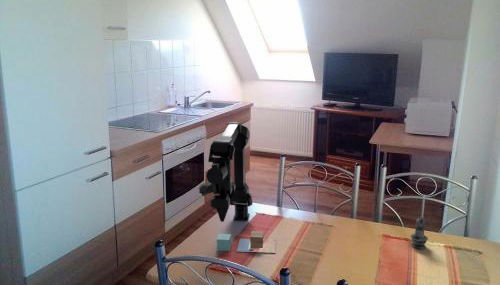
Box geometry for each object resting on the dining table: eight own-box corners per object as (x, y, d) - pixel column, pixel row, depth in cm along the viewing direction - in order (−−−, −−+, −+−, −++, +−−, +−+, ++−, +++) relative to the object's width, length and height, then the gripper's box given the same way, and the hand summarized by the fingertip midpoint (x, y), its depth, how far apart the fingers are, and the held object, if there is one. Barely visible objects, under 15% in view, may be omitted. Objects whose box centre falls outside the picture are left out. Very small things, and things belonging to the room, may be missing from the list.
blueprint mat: (240, 239, 159) (240, 238, 159) (276, 240, 158) (276, 239, 158) (236, 252, 150) (236, 251, 149) (275, 253, 148) (275, 252, 148)
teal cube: (219, 244, 155) (219, 233, 154) (231, 245, 155) (231, 234, 154) (217, 250, 151) (216, 239, 150) (229, 251, 151) (229, 239, 149)
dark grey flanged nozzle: (426, 243, 154) (429, 213, 151) (427, 251, 149) (430, 220, 146) (409, 241, 156) (412, 211, 153) (410, 248, 150) (412, 218, 148)
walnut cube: (251, 242, 156) (251, 231, 155) (263, 242, 155) (263, 231, 154) (250, 248, 152) (250, 236, 151) (262, 248, 151) (262, 237, 150)
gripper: (205, 166, 156) (207, 205, 160) (194, 183, 138) (196, 226, 142) (235, 167, 155) (236, 206, 159) (227, 184, 137) (228, 227, 141)
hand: (224, 216), depth 150 cm, fingers open, 9 cm apart
